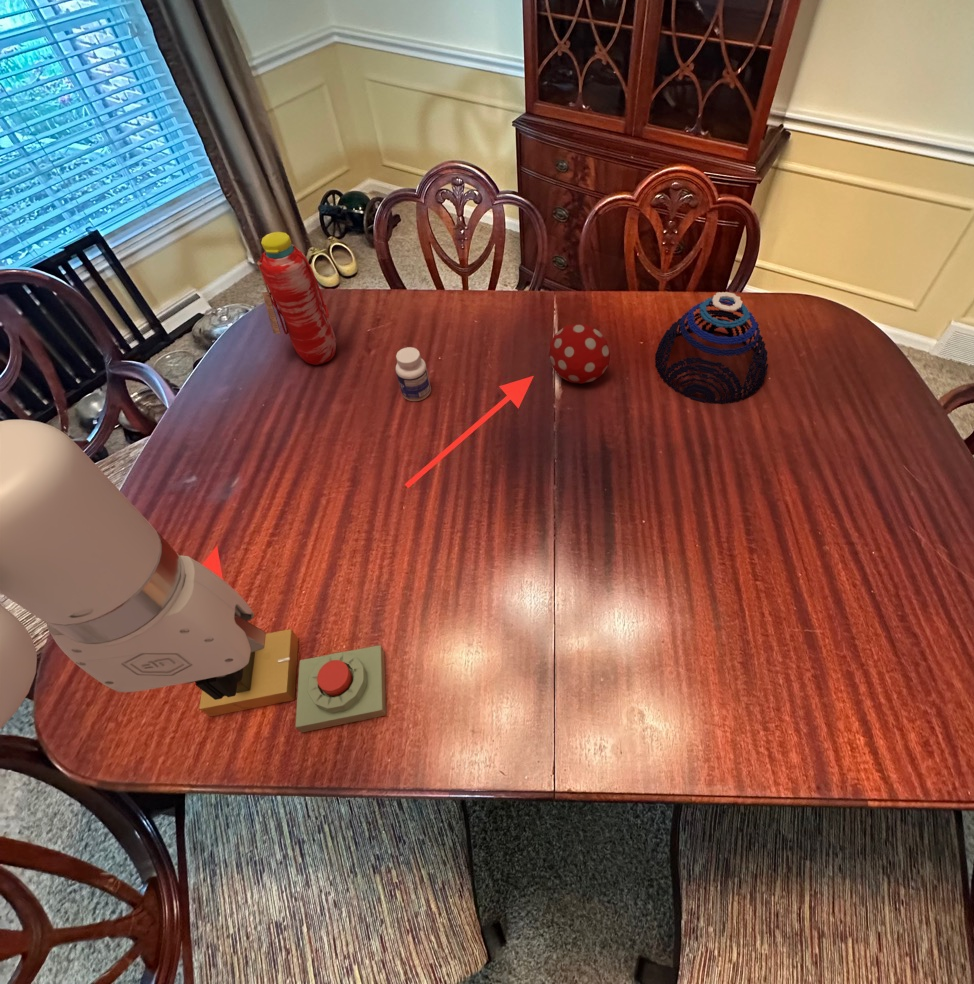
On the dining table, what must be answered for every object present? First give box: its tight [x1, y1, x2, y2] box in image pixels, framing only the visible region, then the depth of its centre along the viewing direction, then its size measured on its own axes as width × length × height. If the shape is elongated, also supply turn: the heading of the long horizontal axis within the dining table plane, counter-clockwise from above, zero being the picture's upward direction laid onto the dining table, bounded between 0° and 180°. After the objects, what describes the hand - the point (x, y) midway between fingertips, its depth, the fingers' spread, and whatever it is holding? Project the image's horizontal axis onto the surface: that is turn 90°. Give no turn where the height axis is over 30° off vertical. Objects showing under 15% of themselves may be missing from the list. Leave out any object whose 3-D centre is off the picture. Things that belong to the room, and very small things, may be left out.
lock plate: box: [198, 628, 300, 718], centre depth 74 cm, size 10×8×3 cm
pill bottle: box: [395, 346, 432, 402], centre depth 105 cm, size 5×5×9 cm
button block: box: [294, 644, 387, 734], centre depth 73 cm, size 10×8×4 cm
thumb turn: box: [236, 652, 255, 693], centre depth 71 cm, size 6×2×5 cm, turn 10°
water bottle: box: [256, 231, 337, 366], centre depth 105 cm, size 12×8×25 cm, turn 86°
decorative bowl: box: [654, 291, 769, 405], centre depth 106 cm, size 20×20×14 cm
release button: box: [317, 660, 352, 696], centre depth 71 cm, size 4×4×2 cm
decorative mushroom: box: [548, 323, 611, 385], centre depth 109 cm, size 11×11×15 cm
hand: (228, 680), depth 53 cm, fingers closed
